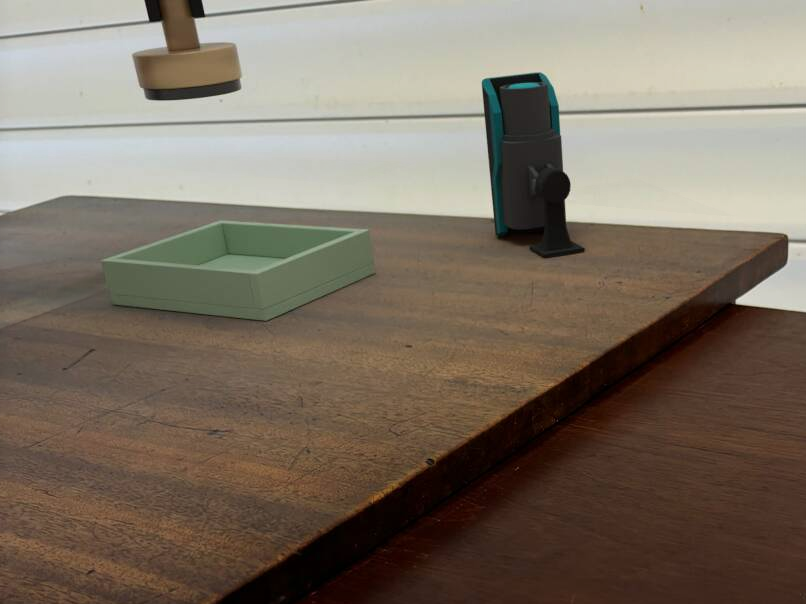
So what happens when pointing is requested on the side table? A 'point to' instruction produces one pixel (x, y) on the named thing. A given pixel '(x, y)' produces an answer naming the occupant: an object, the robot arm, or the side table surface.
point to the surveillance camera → (527, 160)
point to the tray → (240, 269)
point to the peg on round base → (186, 60)
